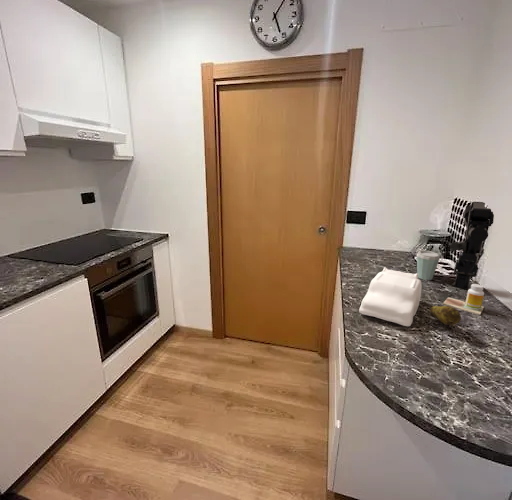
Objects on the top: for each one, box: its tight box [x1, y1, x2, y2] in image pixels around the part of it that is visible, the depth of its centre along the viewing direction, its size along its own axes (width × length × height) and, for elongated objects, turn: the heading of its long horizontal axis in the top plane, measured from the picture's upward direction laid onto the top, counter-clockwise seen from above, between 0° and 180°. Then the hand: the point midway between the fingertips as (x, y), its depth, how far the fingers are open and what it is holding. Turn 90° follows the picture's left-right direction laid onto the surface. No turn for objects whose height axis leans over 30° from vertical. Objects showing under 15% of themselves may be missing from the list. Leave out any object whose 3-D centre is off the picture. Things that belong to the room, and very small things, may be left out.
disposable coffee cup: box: [416, 249, 441, 281], centre depth 150 cm, size 11×11×15 cm
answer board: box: [442, 297, 485, 316], centre depth 122 cm, size 9×13×1 cm
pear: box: [429, 305, 462, 327], centre depth 107 cm, size 8×13×8 cm, turn 157°
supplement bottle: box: [464, 283, 485, 310], centre depth 119 cm, size 5×5×10 cm
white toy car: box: [358, 266, 423, 327], centre depth 119 cm, size 19×30×13 cm, turn 145°
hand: (468, 271), depth 127 cm, fingers open, 9 cm apart
